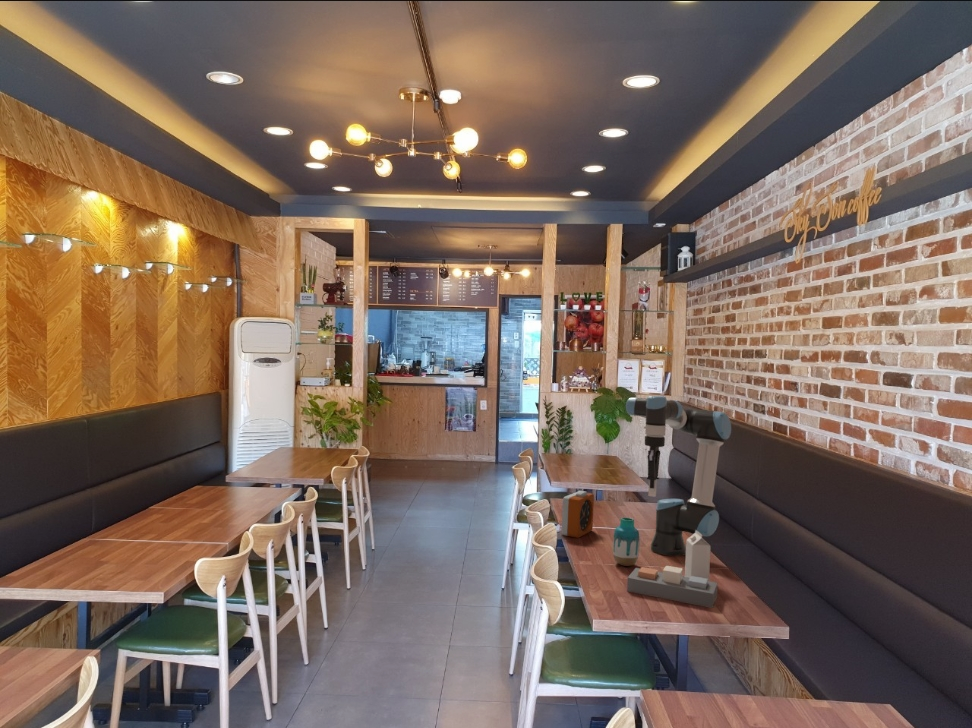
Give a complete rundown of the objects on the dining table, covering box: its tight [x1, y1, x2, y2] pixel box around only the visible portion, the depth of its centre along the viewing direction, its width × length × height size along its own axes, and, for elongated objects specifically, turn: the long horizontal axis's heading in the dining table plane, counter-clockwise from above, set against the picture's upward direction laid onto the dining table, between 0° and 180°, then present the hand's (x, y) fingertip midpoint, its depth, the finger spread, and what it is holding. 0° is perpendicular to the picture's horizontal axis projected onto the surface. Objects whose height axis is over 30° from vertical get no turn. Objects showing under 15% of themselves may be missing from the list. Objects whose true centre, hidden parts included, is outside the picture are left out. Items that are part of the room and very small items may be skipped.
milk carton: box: [684, 530, 711, 581], centre depth 256 cm, size 7×7×19 cm
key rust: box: [638, 566, 659, 580], centre depth 245 cm, size 6×6×6 cm
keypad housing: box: [626, 567, 718, 609], centre depth 241 cm, size 13×30×5 cm, turn 64°
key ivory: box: [662, 565, 684, 584], centre depth 241 cm, size 6×6×6 cm
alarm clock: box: [561, 490, 595, 539], centre depth 317 cm, size 18×9×21 cm, turn 148°
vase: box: [612, 516, 640, 567], centre depth 272 cm, size 11×11×19 cm
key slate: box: [688, 576, 708, 589], centre depth 237 cm, size 6×6×6 cm
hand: (652, 496), depth 255 cm, fingers closed
